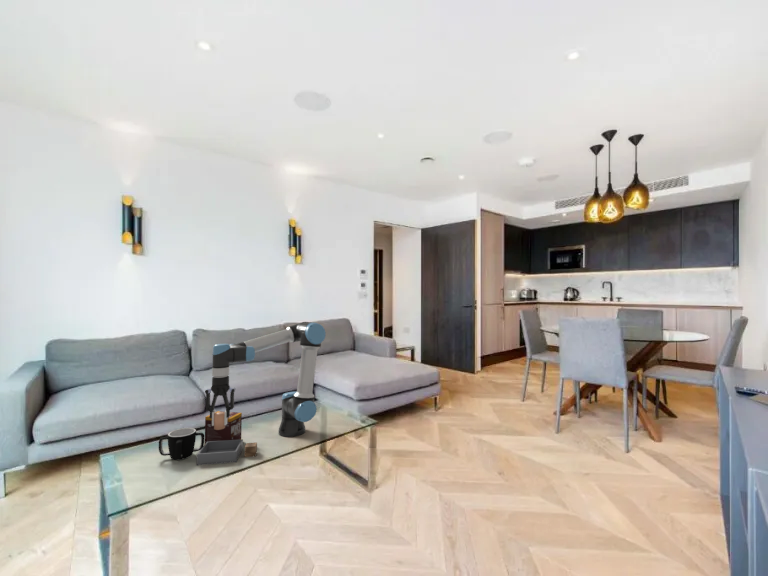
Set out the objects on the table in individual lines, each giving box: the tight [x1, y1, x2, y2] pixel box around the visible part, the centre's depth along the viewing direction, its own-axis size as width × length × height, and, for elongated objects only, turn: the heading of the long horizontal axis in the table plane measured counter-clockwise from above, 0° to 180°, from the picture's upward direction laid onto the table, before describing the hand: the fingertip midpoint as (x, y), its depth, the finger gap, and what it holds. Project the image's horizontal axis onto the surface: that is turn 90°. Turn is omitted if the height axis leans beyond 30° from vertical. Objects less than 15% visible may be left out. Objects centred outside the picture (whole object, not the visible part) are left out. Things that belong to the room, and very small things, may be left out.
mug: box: [158, 427, 205, 461], centre depth 177 cm, size 16×16×12 cm
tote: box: [196, 438, 244, 466], centre depth 177 cm, size 17×15×5 cm
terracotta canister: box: [214, 411, 225, 430], centre depth 174 cm, size 5×5×7 cm
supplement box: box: [203, 410, 243, 446], centre depth 194 cm, size 10×15×16 cm
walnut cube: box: [244, 442, 258, 458], centre depth 180 cm, size 5×5×5 cm
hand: (219, 424), depth 174 cm, fingers closed on terracotta canister, 5 cm apart
